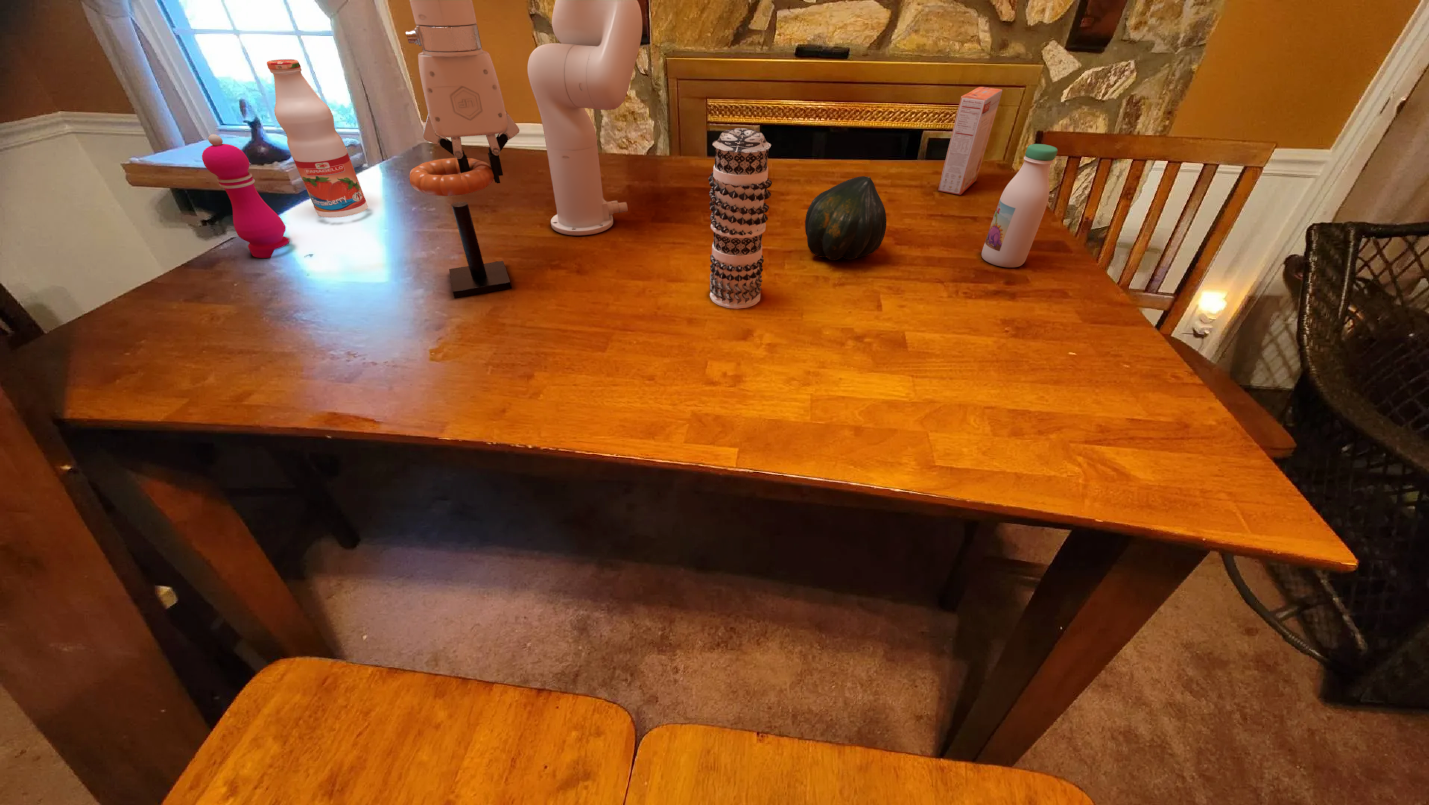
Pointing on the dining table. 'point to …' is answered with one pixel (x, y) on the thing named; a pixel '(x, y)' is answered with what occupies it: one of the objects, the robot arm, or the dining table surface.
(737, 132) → the decorative candle
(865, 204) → the squash
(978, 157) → the cracker box
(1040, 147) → the milk bottle
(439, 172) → the ring
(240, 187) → the pepper mill
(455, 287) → the stand
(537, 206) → the dining table surface
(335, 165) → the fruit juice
